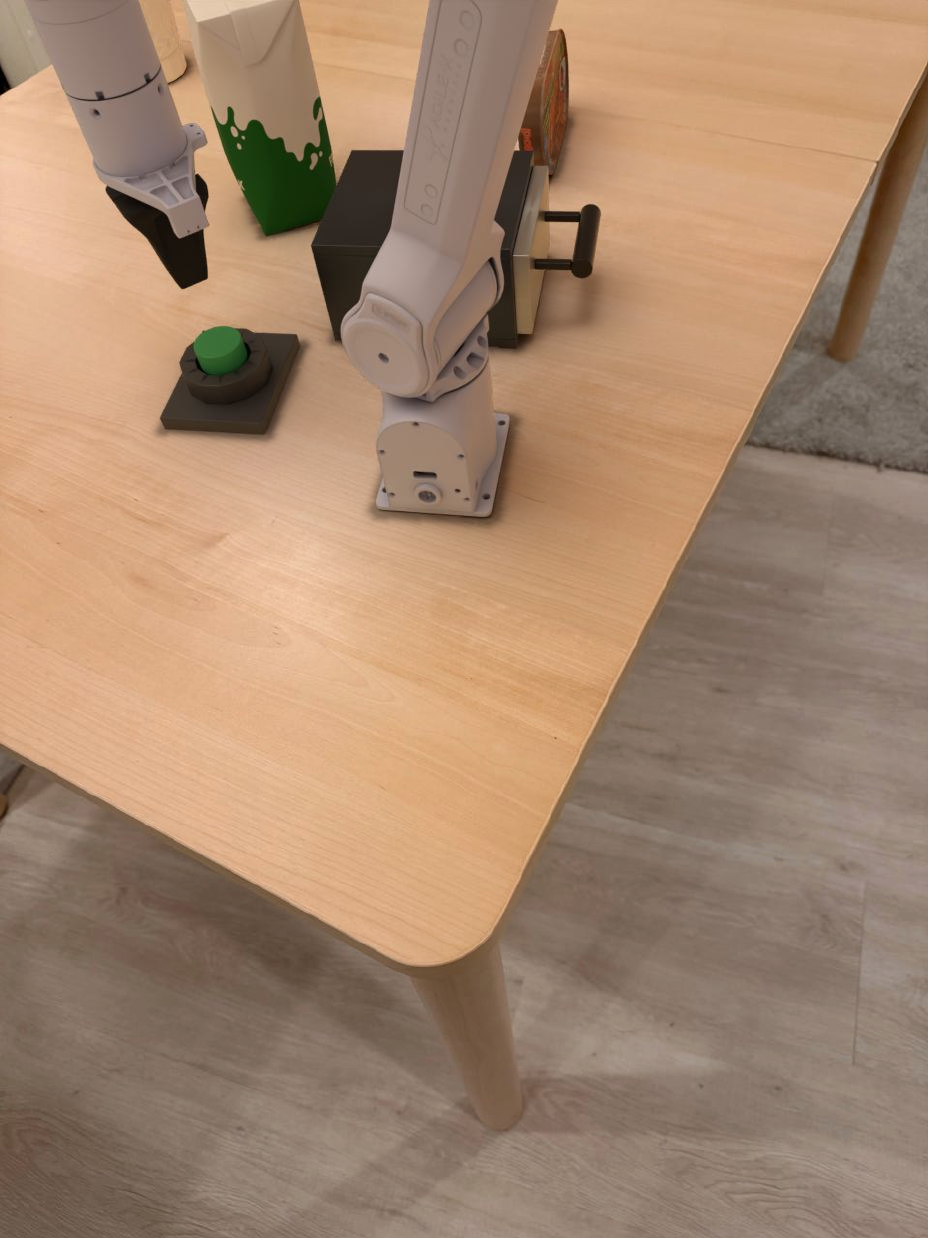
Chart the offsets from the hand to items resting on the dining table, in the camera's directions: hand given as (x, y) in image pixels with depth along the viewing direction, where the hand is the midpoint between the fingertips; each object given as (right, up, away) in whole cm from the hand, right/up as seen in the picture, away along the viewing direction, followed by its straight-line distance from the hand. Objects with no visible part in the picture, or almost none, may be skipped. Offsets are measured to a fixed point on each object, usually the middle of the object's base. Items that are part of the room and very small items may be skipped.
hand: (191, 279), depth 64 cm
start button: (+1, -4, +5) cm, 7 cm away
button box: (+1, -6, +8) cm, 10 cm away
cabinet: (+17, +3, +12) cm, 21 cm away
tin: (+27, +21, +23) cm, 40 cm away
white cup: (-15, +37, +39) cm, 56 cm away
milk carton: (+3, +14, +21) cm, 26 cm away
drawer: (+21, +3, +10) cm, 23 cm away
